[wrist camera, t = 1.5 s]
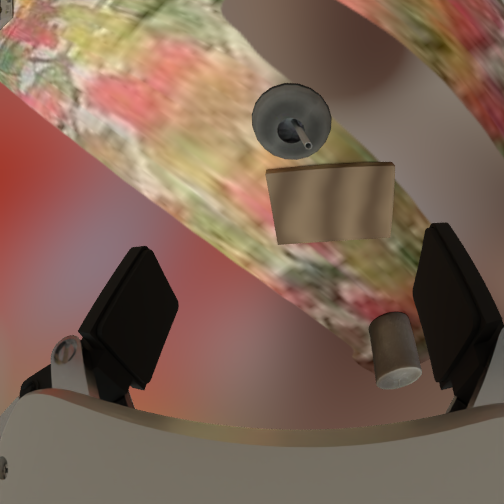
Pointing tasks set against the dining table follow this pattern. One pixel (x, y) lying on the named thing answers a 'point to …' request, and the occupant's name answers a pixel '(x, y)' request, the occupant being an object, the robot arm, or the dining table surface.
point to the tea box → (5, 12)
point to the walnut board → (332, 202)
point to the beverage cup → (291, 121)
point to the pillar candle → (394, 351)
